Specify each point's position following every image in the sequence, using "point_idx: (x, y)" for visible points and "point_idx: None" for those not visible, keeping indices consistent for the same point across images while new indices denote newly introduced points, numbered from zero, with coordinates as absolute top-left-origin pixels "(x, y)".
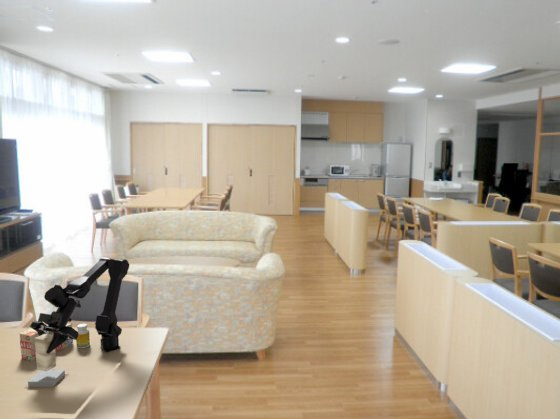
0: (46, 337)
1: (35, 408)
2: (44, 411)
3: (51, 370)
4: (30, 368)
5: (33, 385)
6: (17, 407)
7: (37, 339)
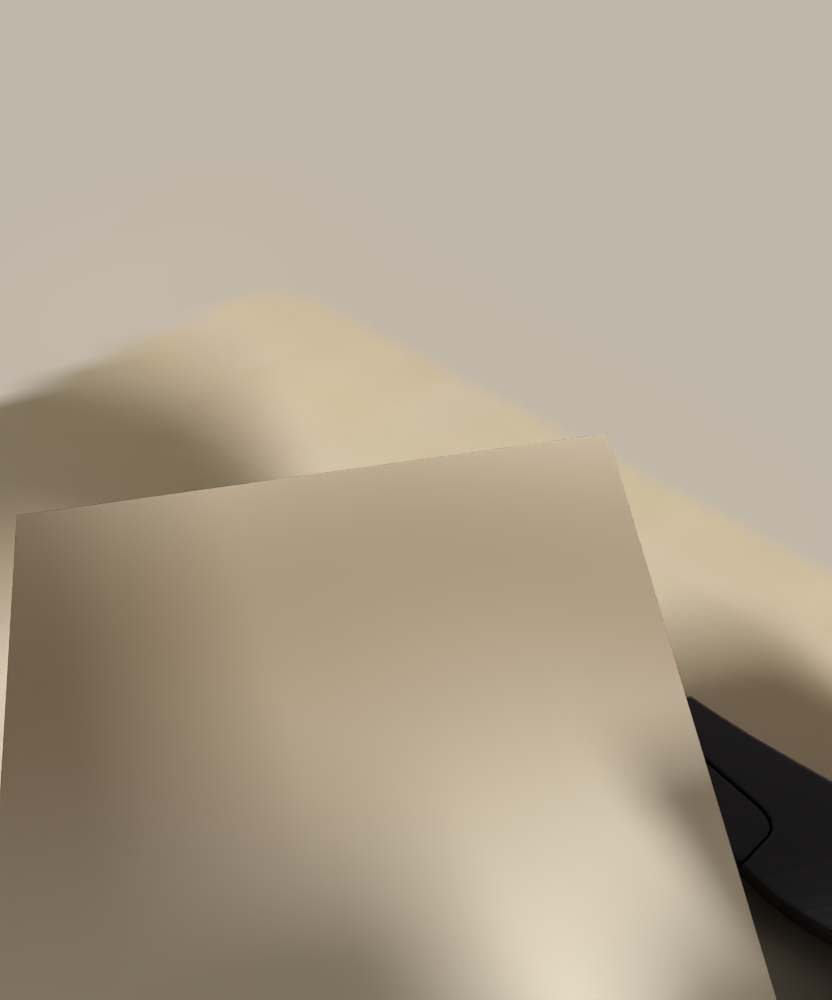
0: (148, 781)
1: (151, 405)
2: (57, 411)
3: None
4: None
5: None
6: (279, 359)
7: (442, 471)
